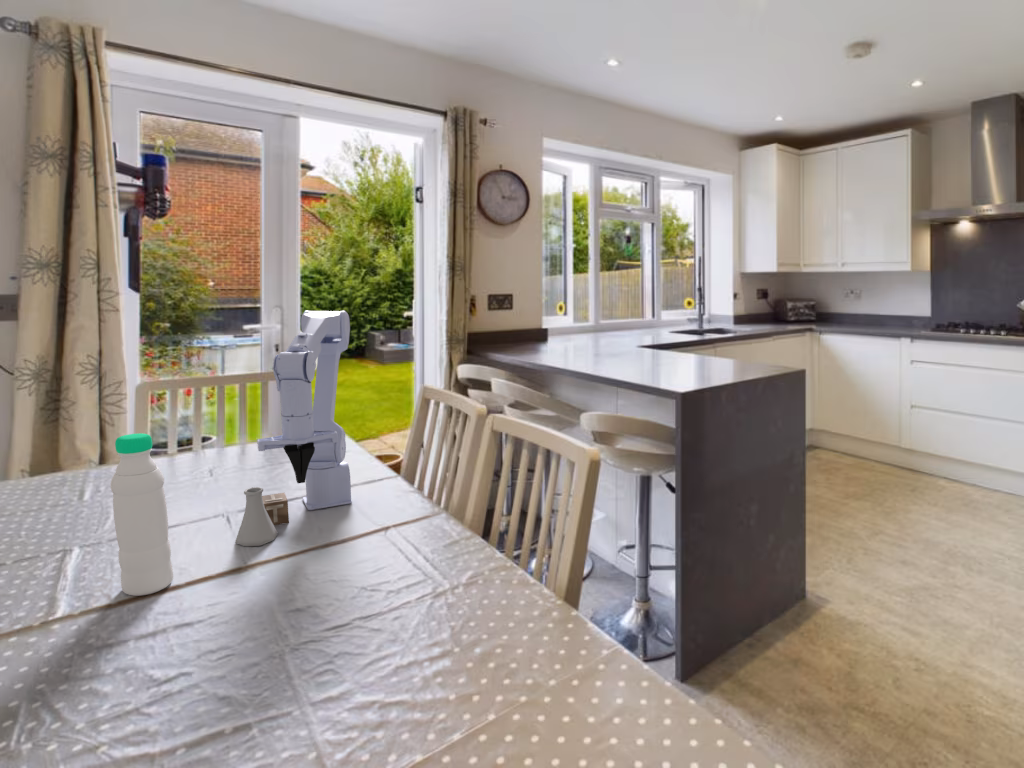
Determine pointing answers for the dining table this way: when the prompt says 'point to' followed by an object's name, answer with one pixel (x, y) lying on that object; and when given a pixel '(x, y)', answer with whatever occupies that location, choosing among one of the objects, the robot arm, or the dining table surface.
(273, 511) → the lettered block
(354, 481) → the dining table surface
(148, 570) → the water bottle
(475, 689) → the dining table surface
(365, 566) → the dining table surface
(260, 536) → the flask
